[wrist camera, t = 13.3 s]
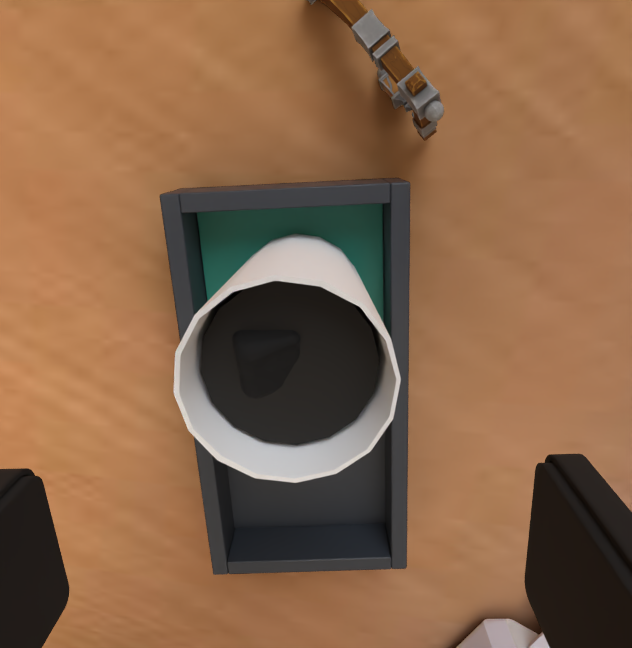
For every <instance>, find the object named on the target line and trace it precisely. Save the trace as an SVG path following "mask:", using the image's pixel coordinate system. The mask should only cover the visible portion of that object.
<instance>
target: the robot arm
mask: <svg viewBox="0 0 632 648" xmlns="http://www.w3.org/2000/svg"><path fill="white" fill-rule="evenodd" d="M525 588H526V593H527V597H528V600H529V602H530V604H531V607H532V609H533V611H534V614H535V616H536V618H537V620H538V623H539V625H540V627H541V629H542V632H543V634H544V636H545V638H546V641H547V643H548V645H549V647H550V648H632V512H631V511H630V510H629V509H628V507H627V506H626V505H625V504H624V503H623V501H622V500H621V499H620V498H619V497H618V495H617V494H616V493H615V492H614V491H613V489H612V488H611V487H610V486H609V485H608V483H607V482H606V481H605V480H604V479H603V477H602V476H601V475H600V474H599V473H598V472H597V470H596V469H595V468H594V467H593V466H592V464H591V463H590V462H589V461H588V460H587V458H586V457H585V456H583V455H582V454H554V455H548V456H547V457H546V459H545V463H538V464H537V466H536V470H535V479H534V489H533V500H532V510H531V520H530V530H529V540H528V550H527V560H526V570H525ZM68 597H69V584H68V580H67V576H66V572H65V568H64V564H63V560H62V556H61V552H60V548H59V544H58V540H57V536H56V532H55V528H54V524H53V520H52V516H51V512H50V508H49V504H48V500H47V496H46V492H45V488H44V484H43V482H42V479H41V478H40V477H38V476H35V475H34V473H33V472H32V471H31V470H30V469H0V648H42V646H43V645H44V643H45V641H46V639H47V638H48V636H49V634H50V633H51V631H52V629H53V627H54V626H55V624H56V622H57V621H58V619H59V617H60V615H61V614H62V612H63V610H64V608H65V606H66V604H67V601H68Z"/></svg>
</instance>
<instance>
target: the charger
mask: <svg viewBox="0 0 632 648" xmlns="http://www.w3.org/2000/svg"><path fill="white" fill-rule="evenodd" d="M456 648H550V647H549V645H548V643H547V641H546V638H545V636H544V634H543V632H542V633H541V634H537V633H535V632H533V631H532V630H530V629H528V628H526V627H524V626H523V625H521V624H519V623H517V622H516V621H514V620H512V619H485V620H484V621H483V622H482V623H481V624H480V625H479V626H478V627H477V628H476V629H475V630H474V631H473V632H472V633H470V634H469V635H468V636H467V637H466V638H465V639H464V640H463V641H462V642H461V643H460V644H459V645H458V646H457V647H456Z"/></svg>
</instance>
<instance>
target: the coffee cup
mask: <svg viewBox="0 0 632 648" xmlns="http://www.w3.org/2000/svg"><path fill="white" fill-rule="evenodd" d="M400 382H401V377H400V373H399V369H398V365H397V361H396V357H395V353H394V349H393V344H392V340H391V338H390V336H389V334H388V332H387V330H386V328H385V326H384V324H383V322H382V320H381V318H380V316H379V314H378V312H377V310H376V308H375V306H374V304H373V302H372V300H371V298H370V296H369V294H368V292H367V290H366V288H365V286H364V284H363V282H362V280H361V278H360V276H359V274H358V273H357V271H356V268H355V267H354V265H353V264H352V263H351V262H350V260H349V259H348V258H347V256H346V255H345V254H344V252H343V251H342V250H341V249H340V248H338V247H337V246H335V245H333V244H331V243H330V242H328V241H326V240H324V239H323V238H321V237H318V236H310V235H302V234H292V235H288V236H285V237H281V238H277V239H274V240H271V241H270V242H268V243H267V244H266V245H265V246H263V247H262V248H261V249H260V250H258V251H257V252H256V253H255V254H253V255H252V256H251V257H250V259H249V260H248V261H247V262H246V263H245V264H244V265H243V266H242V267H241V268H240V269H239V270H238V271H237V272H236V273H235V274H234V275H233V276H232V277H231V278H230V279H229V280H228V281H227V282H226V283H225V284H224V285H223V286H222V287H221V288H220V289H219V290H218V291H217V292H216V293H215V294H214V295H213V296H212V297H211V299H210V300H209V301H208V302H207V303H206V304H205V305H204V306H203V307H202V308H201V309H200V310H199V311H198V312H197V313H196V314H195V315H194V317H193V319H192V321H191V323H190V325H189V327H188V329H187V331H186V332H185V334H184V336H183V338H182V340H181V342H180V344H179V346H178V348H177V350H176V352H175V371H174V395H175V398H176V400H177V403H178V405H179V408H180V410H181V413H182V415H183V418H184V420H185V423H186V425H187V428H188V430H189V432H190V433H191V434H192V435H193V436H194V437H195V438H196V439H197V440H198V441H199V442H200V443H201V444H202V445H203V446H204V447H205V448H206V449H207V450H208V451H209V452H210V453H211V454H212V455H213V456H214V457H215V458H216V460H218V461H220V462H222V463H224V464H226V465H228V466H230V467H232V468H234V469H236V470H239V471H241V472H243V473H245V474H247V475H249V476H251V477H253V478H257V479H266V480H275V481H284V482H293V483H298V482H302V481H307V480H311V479H315V478H320V477H324V476H329V475H333V474H337V473H338V472H340V471H341V470H343V469H344V468H346V467H347V466H349V465H351V464H352V463H354V462H355V461H357V460H358V459H360V458H361V457H363V456H364V455H366V454H367V453H369V452H370V451H371V450H372V449H373V447H374V446H375V444H376V443H377V441H378V440H379V439H380V437H381V436H382V434H383V433H384V431H385V430H386V429H387V427H388V426H389V424H390V423H391V421H392V420H393V417H394V412H395V407H396V402H397V397H398V392H399V387H400Z"/></svg>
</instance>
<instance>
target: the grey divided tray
mask: <svg viewBox="0 0 632 648" xmlns="http://www.w3.org/2000/svg"><path fill="white" fill-rule="evenodd" d="M160 202H161V209H162V216H163V223H164V230H165V237H166V244H167V251H168V258H169V265H170V272H171V279H172V286H173V293H174V300H175V307H176V314H177V321H178V329H179V336H180V342H181V340H182V338H183V336H184V334H185V332H186V331H187V329H188V327H189V325H190V323H191V321H192V319H193V317H194V315H195V314H196V313H197V312H198V311H199V310H200V309H201V308H202V307H203V306H204V305H205V304H206V303H207V302H208V301H209V300H210V299H211V297H212V296H213V295H214V294H215V293H216V292H217V291H218V290H219V289H220V288H221V287H222V286H223V285H224V284H225V283H226V282H227V281H228V280H229V279H230V278H231V277H232V276H233V275H234V274H235V273H236V272H237V271H238V270H239V269H240V268H241V267H242V266H243V265H244V264H245V263H246V262H247V261H248V260H249V259H250V257H251V256H252V255H253V254H255V253H256V252H257V251H258V250H260V249H261V248H262V247H263V246H265V245H266V244H267V243H268V242H270V241H271V240H274V239H277V238H281V237H285V236H288V235H292V234H302V235H310V236H318V237H321V238H323V239H324V240H326V241H328V242H330V243H331V244H333V245H335V246H337V247H338V248H340V249H341V250H342V251H343V252H344V254H345V255H346V256H347V258H348V259H349V260H350V262H351V263H352V264H353V265H354V267H355V268H356V271H357V273H358V274H359V276H360V278H361V280H362V282H363V284H364V286H365V288H366V290H367V292H368V294H369V296H370V298H371V300H372V302H373V304H374V306H375V308H376V310H377V312H378V314H379V316H380V318H381V320H382V322H383V324H384V326H385V328H386V330H387V332H388V334H389V336H390V338H391V340H392V344H393V349H394V353H395V357H396V361H397V365H398V369H399V373H400V377H401V382H400V387H399V392H398V397H397V402H396V407H395V412H394V417H393V420H392V421H391V423H390V424H389V426H388V427H387V429H386V430H385V431H384V433H383V434H382V436H381V437H380V439H379V440H378V441H377V443H376V444H375V446H374V447H373V449H372V450H371V451H370V452H369V453H367V454H366V455H364V456H363V457H361V458H360V459H358V460H357V461H355V462H354V463H352V464H351V465H349V466H347V467H346V468H344V469H343V470H341V471H340V472H338V473H337V474H333V475H329V476H324V477H320V478H315V479H311V480H307V481H302V482H298V483H293V482H284V481H275V480H266V479H257V478H253V477H251V476H249V475H247V474H245V473H243V472H241V471H239V470H236V469H234V468H232V467H230V466H228V465H226V464H224V463H222V462H220V461H218V460H216V458H215V457H214V456H213V455H212V454H211V453H210V452H209V451H208V450H207V449H206V448H205V447H204V446H203V445H202V444H201V443H200V442H199V441H198V440H197V439H196V438H195V437H194V441H195V448H196V455H197V462H198V469H199V476H200V483H201V490H202V497H203V504H204V512H205V519H206V526H207V533H208V540H209V547H210V554H211V561H212V568H213V574H215V575H216V574H228V573H229V574H247V573H280V572H312V571H344V570H376V569H391V567H392V569H405V568H406V567H407V478H408V373H409V268H410V182H407V181H405V180H402V179H400V178H382V179H362V180H342V181H322V182H302V183H282V184H262V185H242V186H221V187H201V188H181V189H177V190H174V191H170V192H167V193H163V194H160Z"/></svg>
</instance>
